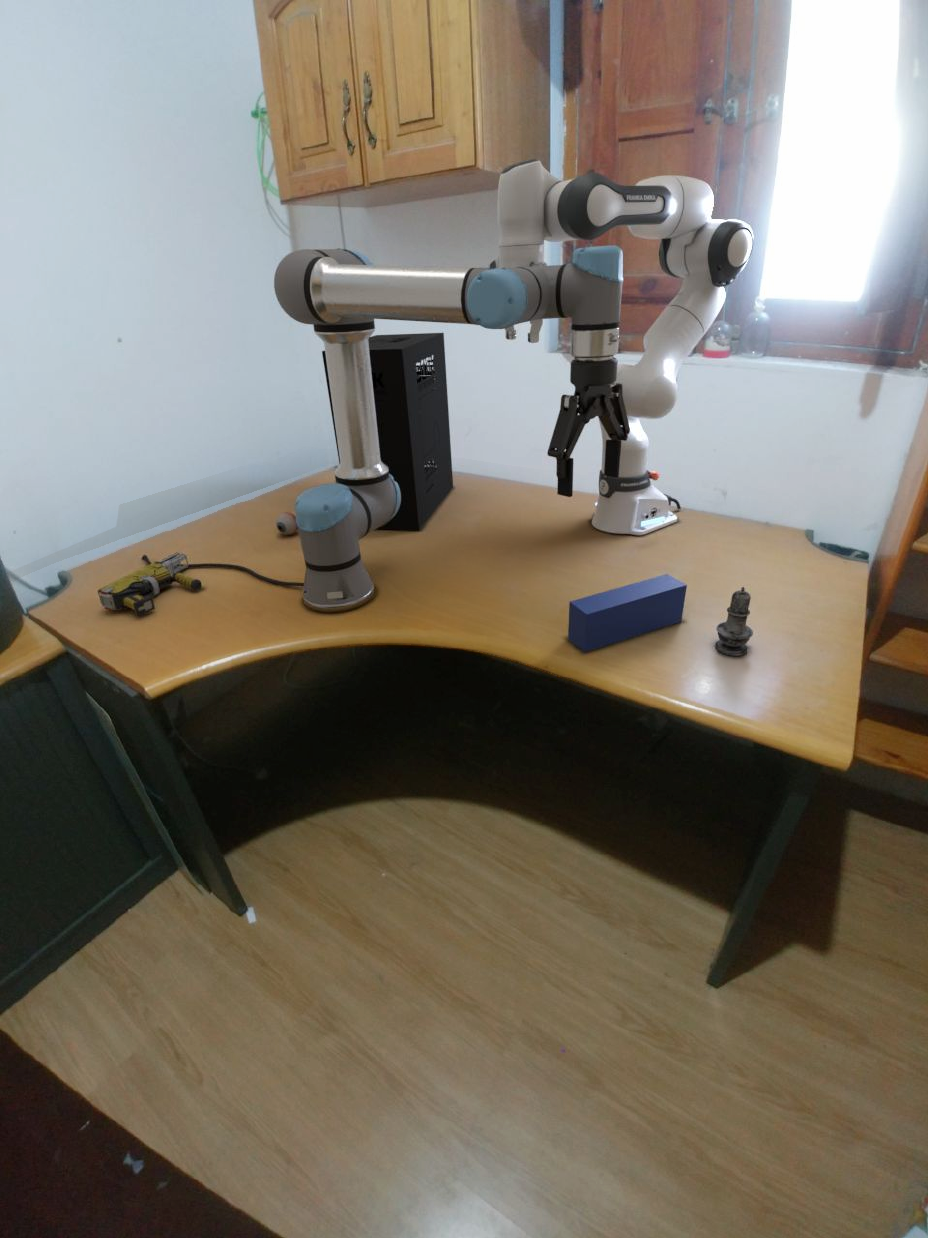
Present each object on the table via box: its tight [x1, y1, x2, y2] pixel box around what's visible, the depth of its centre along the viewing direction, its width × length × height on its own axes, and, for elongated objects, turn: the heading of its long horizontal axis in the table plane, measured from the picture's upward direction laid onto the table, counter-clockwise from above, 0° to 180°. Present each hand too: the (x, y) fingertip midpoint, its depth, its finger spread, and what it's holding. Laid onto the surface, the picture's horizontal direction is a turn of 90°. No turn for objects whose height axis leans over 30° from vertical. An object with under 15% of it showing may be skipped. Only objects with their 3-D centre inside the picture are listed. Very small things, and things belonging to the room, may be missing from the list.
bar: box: [567, 573, 688, 653], centre depth 112 cm, size 22×5×8 cm, turn 115°
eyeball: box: [275, 511, 298, 536], centre depth 163 cm, size 6×6×6 cm
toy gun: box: [97, 551, 203, 617], centre depth 137 cm, size 5×24×15 cm
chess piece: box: [714, 586, 754, 657], centre depth 103 cm, size 6×6×12 cm
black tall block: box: [321, 332, 454, 532], centre depth 169 cm, size 38×20×45 cm, turn 167°
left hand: (588, 485), depth 108 cm, fingers open, 13 cm apart
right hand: (521, 340), depth 125 cm, fingers open, 8 cm apart
